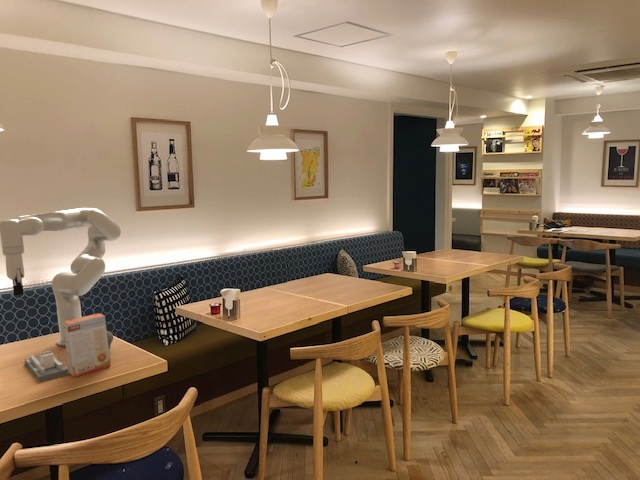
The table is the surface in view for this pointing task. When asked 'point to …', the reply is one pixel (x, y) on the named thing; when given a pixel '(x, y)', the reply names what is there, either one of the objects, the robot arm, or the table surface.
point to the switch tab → (47, 359)
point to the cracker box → (86, 344)
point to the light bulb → (109, 339)
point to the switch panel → (43, 373)
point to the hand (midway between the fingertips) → (18, 294)
